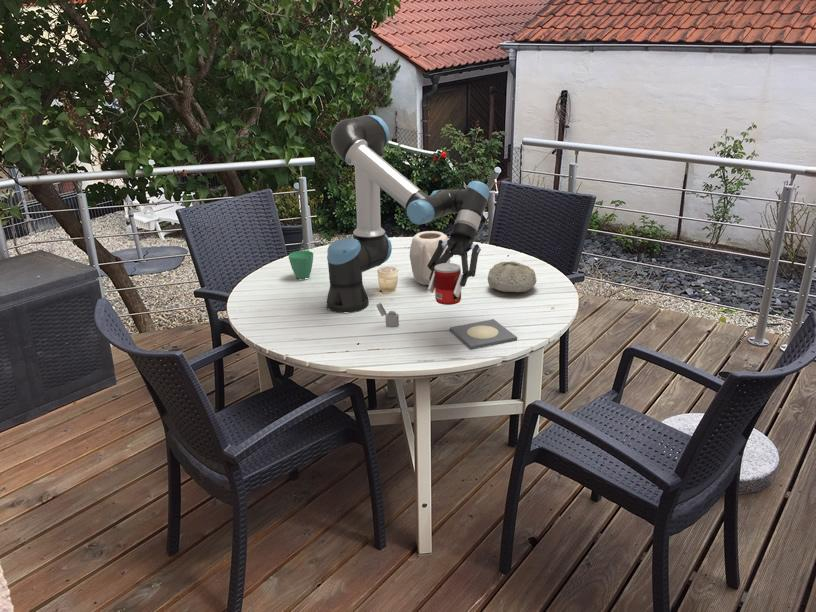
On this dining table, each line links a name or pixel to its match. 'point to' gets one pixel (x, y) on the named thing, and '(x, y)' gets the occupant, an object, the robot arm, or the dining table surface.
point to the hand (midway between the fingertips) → (443, 293)
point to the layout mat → (482, 334)
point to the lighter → (389, 316)
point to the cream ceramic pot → (424, 254)
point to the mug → (301, 263)
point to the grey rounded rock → (511, 277)
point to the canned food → (446, 283)
